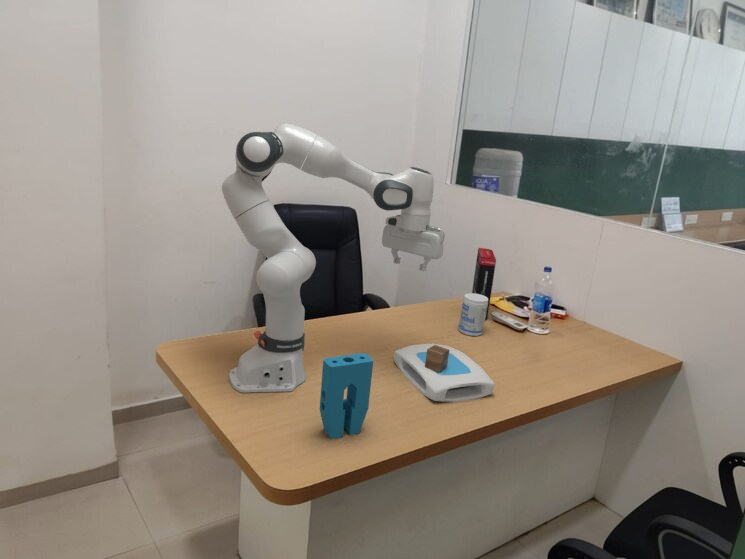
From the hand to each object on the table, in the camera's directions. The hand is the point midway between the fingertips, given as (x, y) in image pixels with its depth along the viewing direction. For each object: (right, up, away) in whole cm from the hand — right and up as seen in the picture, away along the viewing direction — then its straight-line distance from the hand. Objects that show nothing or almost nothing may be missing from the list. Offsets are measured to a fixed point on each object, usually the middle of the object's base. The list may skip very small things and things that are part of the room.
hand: (409, 266), depth 168 cm
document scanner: (+10, -36, +5) cm, 38 cm away
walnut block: (+8, -31, -1) cm, 32 cm away
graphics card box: (+34, -19, +68) cm, 79 cm away
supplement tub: (+27, -25, +46) cm, 59 cm away
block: (-19, -43, -29) cm, 55 cm away
